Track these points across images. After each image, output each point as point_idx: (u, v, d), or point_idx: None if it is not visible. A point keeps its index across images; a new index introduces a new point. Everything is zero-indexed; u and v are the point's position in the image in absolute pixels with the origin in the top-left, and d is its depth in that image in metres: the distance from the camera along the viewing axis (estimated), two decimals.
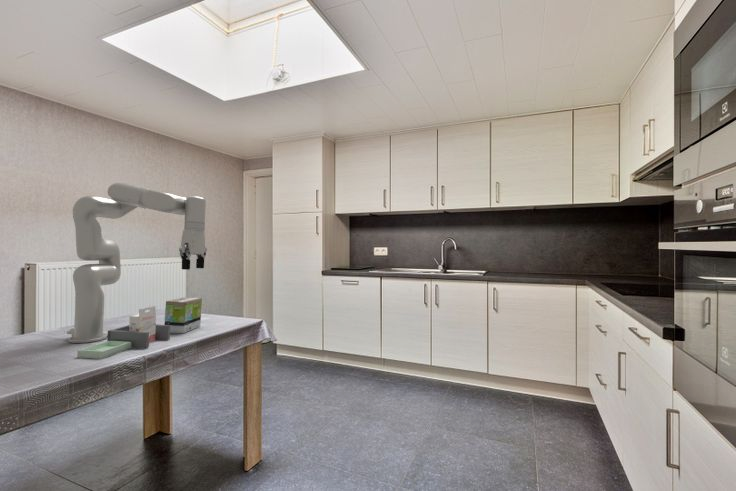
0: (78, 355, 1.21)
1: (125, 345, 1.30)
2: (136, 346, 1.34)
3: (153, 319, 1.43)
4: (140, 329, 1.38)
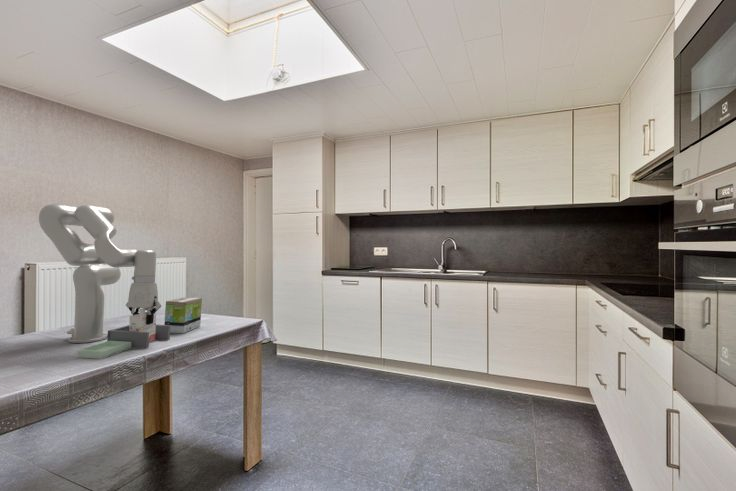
0: (78, 355, 1.21)
1: (125, 345, 1.30)
2: (136, 346, 1.34)
3: None
4: (140, 328, 1.38)
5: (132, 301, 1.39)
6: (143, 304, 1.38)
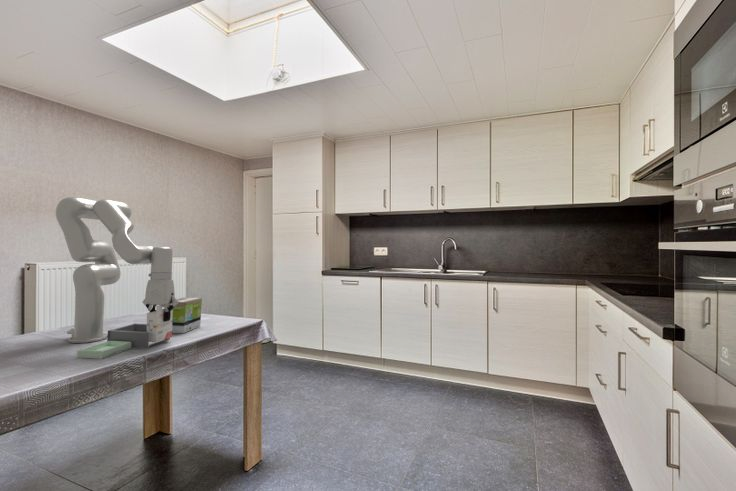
0: (78, 355, 1.21)
1: (125, 345, 1.30)
2: (136, 346, 1.34)
3: None
4: (158, 325, 1.37)
5: (149, 298, 1.38)
6: (160, 301, 1.38)
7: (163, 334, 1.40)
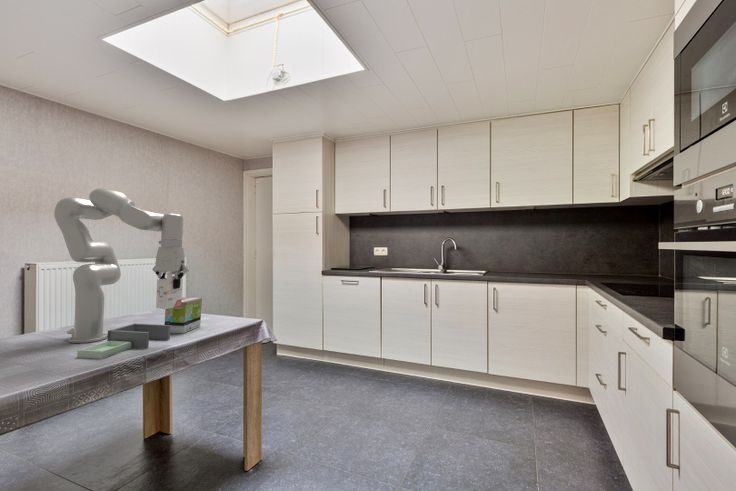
0: (78, 355, 1.21)
1: (125, 345, 1.30)
2: (136, 346, 1.34)
3: None
4: (168, 292, 1.36)
5: (159, 265, 1.38)
6: (171, 268, 1.37)
7: (173, 302, 1.39)
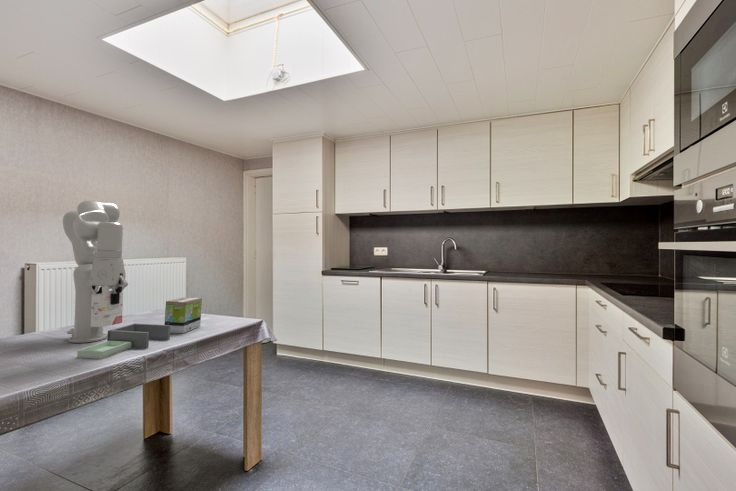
0: (78, 355, 1.21)
1: (125, 345, 1.30)
2: (136, 346, 1.34)
3: (119, 299, 1.29)
4: (104, 309, 1.23)
5: (95, 278, 1.25)
6: (107, 282, 1.24)
7: (111, 319, 1.26)
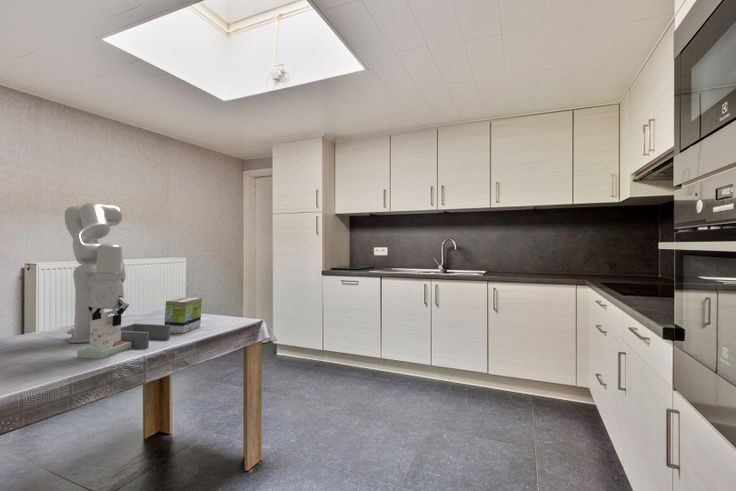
0: (78, 355, 1.21)
1: (125, 345, 1.30)
2: (136, 346, 1.34)
3: None
4: (103, 335, 1.24)
5: (94, 301, 1.25)
6: (106, 304, 1.24)
7: (110, 344, 1.26)
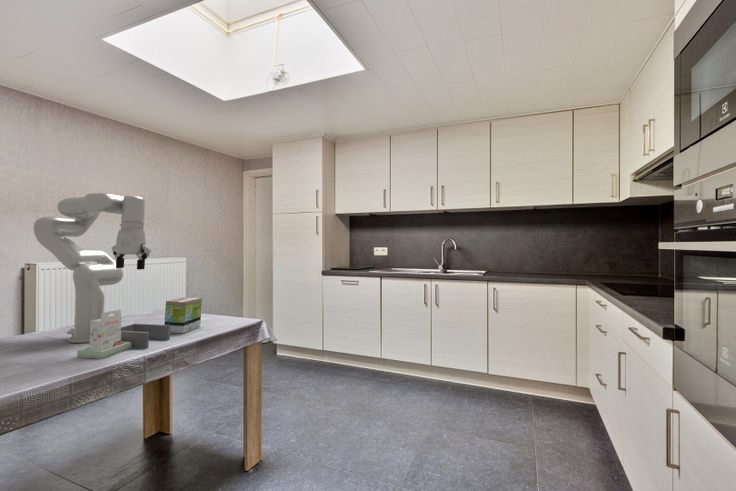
0: (78, 355, 1.21)
1: (125, 345, 1.30)
2: (136, 346, 1.34)
3: (118, 324, 1.29)
4: (103, 335, 1.24)
5: (119, 247, 1.36)
6: (129, 250, 1.36)
7: (110, 344, 1.26)
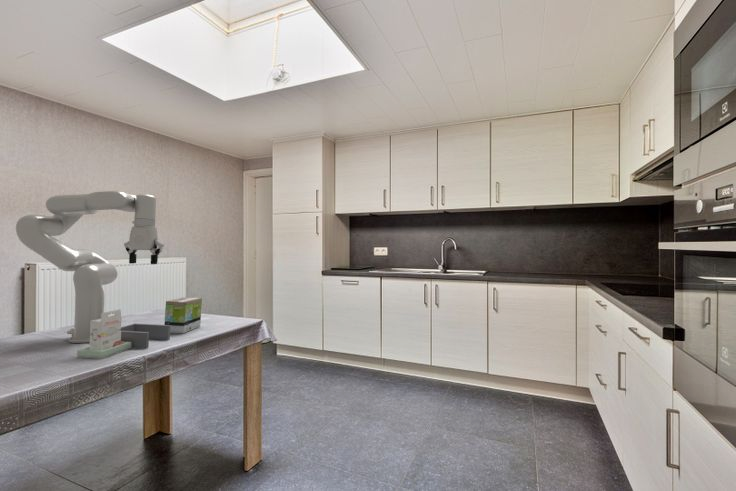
0: (78, 355, 1.21)
1: (125, 345, 1.30)
2: (136, 346, 1.34)
3: (118, 324, 1.29)
4: (103, 335, 1.24)
5: (133, 243, 1.44)
6: (143, 246, 1.43)
7: (110, 344, 1.26)
